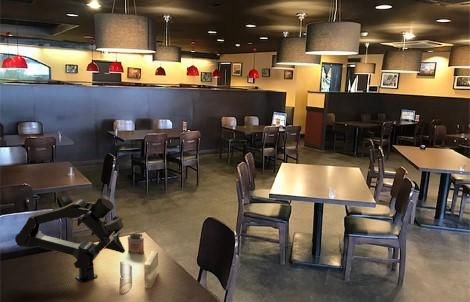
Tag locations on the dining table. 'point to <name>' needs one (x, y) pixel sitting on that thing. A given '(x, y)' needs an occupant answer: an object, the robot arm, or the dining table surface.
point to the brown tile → (151, 269)
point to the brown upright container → (136, 244)
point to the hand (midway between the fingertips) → (124, 252)
